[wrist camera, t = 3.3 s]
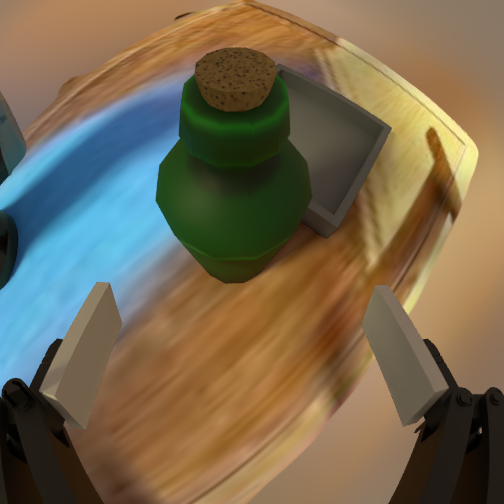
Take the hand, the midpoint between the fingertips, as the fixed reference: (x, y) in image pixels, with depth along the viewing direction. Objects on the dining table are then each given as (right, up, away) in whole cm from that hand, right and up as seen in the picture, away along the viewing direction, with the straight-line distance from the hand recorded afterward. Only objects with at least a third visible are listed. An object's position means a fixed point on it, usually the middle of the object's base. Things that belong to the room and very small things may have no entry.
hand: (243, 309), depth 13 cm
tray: (+8, +20, +28) cm, 35 cm away
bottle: (-2, +3, +23) cm, 23 cm away
